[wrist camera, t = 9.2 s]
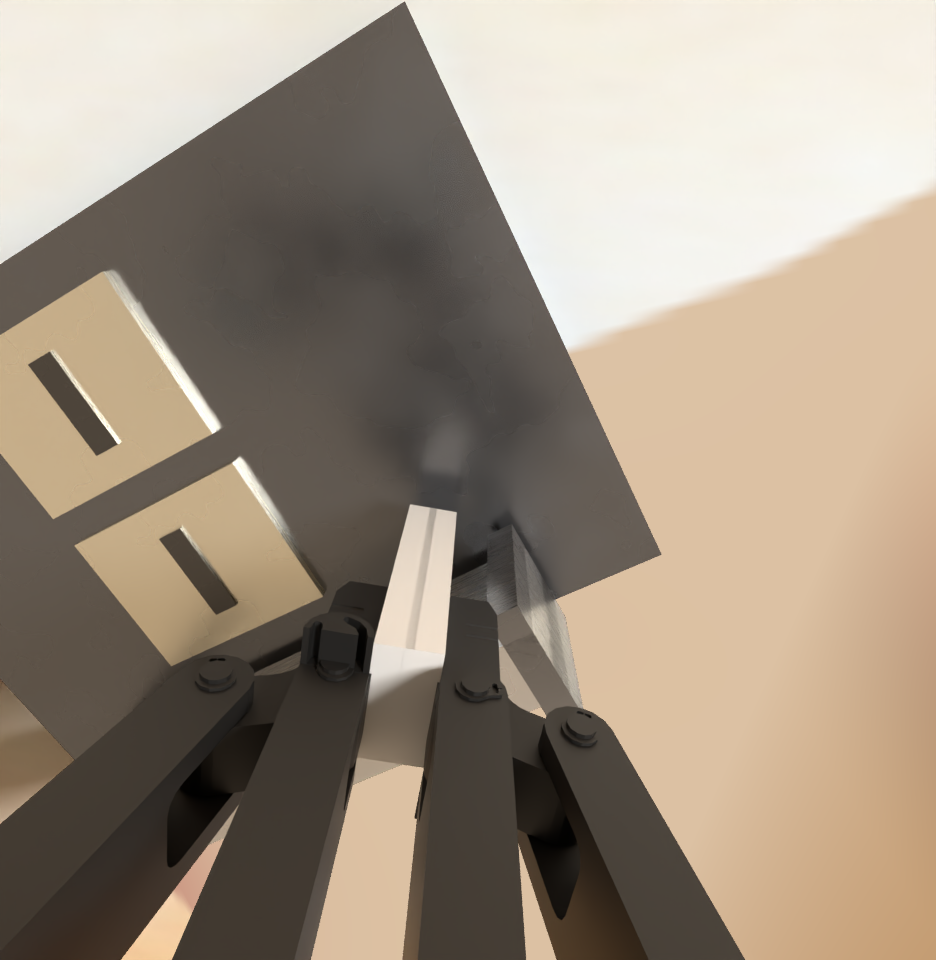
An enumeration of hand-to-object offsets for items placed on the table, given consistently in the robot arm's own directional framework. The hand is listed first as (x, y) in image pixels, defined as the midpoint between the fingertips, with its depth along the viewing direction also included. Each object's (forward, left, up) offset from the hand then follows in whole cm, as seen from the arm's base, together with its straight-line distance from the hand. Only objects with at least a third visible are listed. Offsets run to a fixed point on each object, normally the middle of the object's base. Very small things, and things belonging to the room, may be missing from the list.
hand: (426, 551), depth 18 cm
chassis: (-4, -5, -3) cm, 7 cm away
